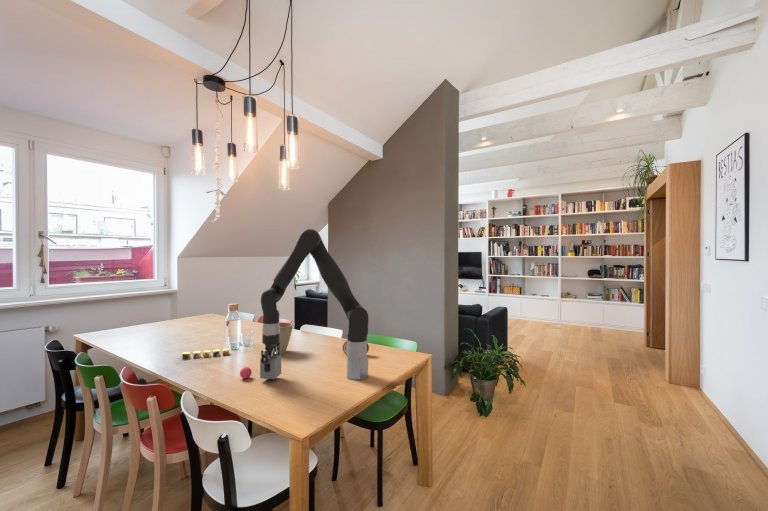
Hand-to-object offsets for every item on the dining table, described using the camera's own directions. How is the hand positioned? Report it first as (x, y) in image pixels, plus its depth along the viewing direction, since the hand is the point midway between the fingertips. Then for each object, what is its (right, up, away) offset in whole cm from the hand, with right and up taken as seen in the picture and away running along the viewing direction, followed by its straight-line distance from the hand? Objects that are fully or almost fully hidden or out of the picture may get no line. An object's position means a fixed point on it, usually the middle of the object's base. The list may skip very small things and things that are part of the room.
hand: (270, 368), depth 151 cm
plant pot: (-9, -5, +42) cm, 43 cm away
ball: (-12, -2, +1) cm, 12 cm away
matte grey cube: (0, -3, 0) cm, 3 cm away
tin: (+35, -6, +38) cm, 52 cm away
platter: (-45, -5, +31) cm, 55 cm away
